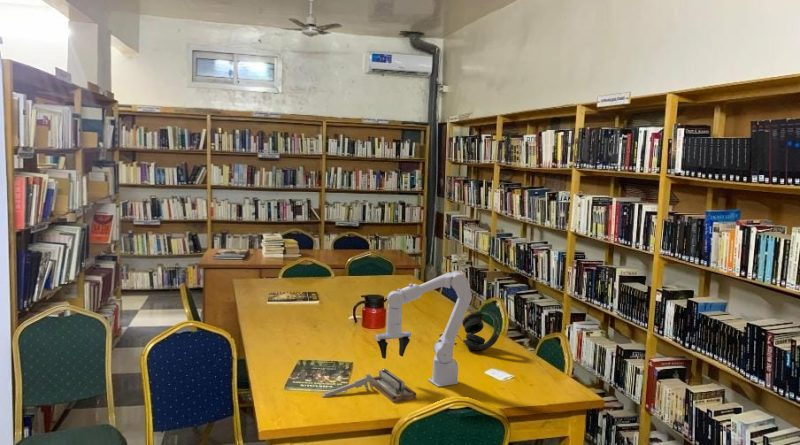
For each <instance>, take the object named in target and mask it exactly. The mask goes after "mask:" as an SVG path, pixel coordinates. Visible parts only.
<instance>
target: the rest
mask: <svg viewBox="0 0 800 445" xmlns="http://www.w3.org/2000/svg"><path fill="white" fill-rule="evenodd" d="M372 379H373V387H374V388H375V389H376V390H377V391H379V393H381V394H382V395H383V396H384V397H386V398H387V399H388V400H390V401H391V402H392V403H396V402H402V401H408V400H413V399H414V400H415V399H417V393H416V392H415V391H414V390H413V389H411V388H410V387H408V386H407V385H406V384H405V385H404V393H400V392H399V394H395V393H394V392H392V391H391V390H390V389H389V388H387V387H386V386H385V385H383V384H382V383H381V382H380V381H379V375H377V376H372Z"/></svg>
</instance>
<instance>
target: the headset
mask: <svg viewBox="0 0 800 445" xmlns="http://www.w3.org/2000/svg"><path fill="white" fill-rule="evenodd" d="M484 316H488V317H489V316H490V318H491V319H492V320H493V333H492V334H491V336H490V338H489V339H488V340H487V341H486V339H485V338H484V337H481V335H478V333H479V332H481V331H482V330H483V328H484V325H485V324H484V322H483V318H482V317H484ZM461 325H462V326H463V329H464V331H465V333H466V334H465V339H463V340H462V338H461V337H460V335H458V334H457V336H456V337H458V338H459V339H460V340H462V342H463V343H464V345H465V346H466V347H467V349H470V350H473V351H485V350H488V349H489V348H492V347H493V346H494V345H495V344H496V342H497V341H498V339H499V337H500V334H501V321H500V319H499V317H498V316H497V315H496V314H495V313H493V312H491V311H488V310H478V311H476V312H473V313H469V314H467V315H465V316H464V319H463V321H462V324H461ZM442 335H443V333H441V334H439V338H440V337H441V336H442Z"/></svg>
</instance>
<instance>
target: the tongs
mask: <svg viewBox="0 0 800 445" xmlns="http://www.w3.org/2000/svg"><path fill="white" fill-rule="evenodd" d="M378 376H379V381H380V382H381V383H382V384H383V385H385V386H386V387H387V388H389V389H390V390H391V391H392V392H394V393H395V394H399V392H400V393H404V385H406V384H405V381H404V380H402V379H400V378H399V377H398V376H396V375H395V374H394V373H392V372H391V371H390V370H389V369H386V368H382V369H380V370H378Z"/></svg>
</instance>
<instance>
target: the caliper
mask: <svg viewBox="0 0 800 445" xmlns="http://www.w3.org/2000/svg"><path fill="white" fill-rule="evenodd" d="M365 376H366V377H362V378H359V379H356V380H354V382H351V383H348V384H346V385H343V386H340V387H337V388H335V389H332V390H329V391H327V392H324V394H323V395H321V398H326V397H327V398H328V397H331V396H335V395H337V394H340V393H343V392H346V391H348V390H350V389H353V388H356V389H358V388H361V387H363V386H364V387H365V389H366V390H367V391H368V390H369V386H370V390H372V389H373V387H374V386H373V379H372V377H373V376H372V375H371V373H368V374H367V373H366V374H365Z"/></svg>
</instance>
